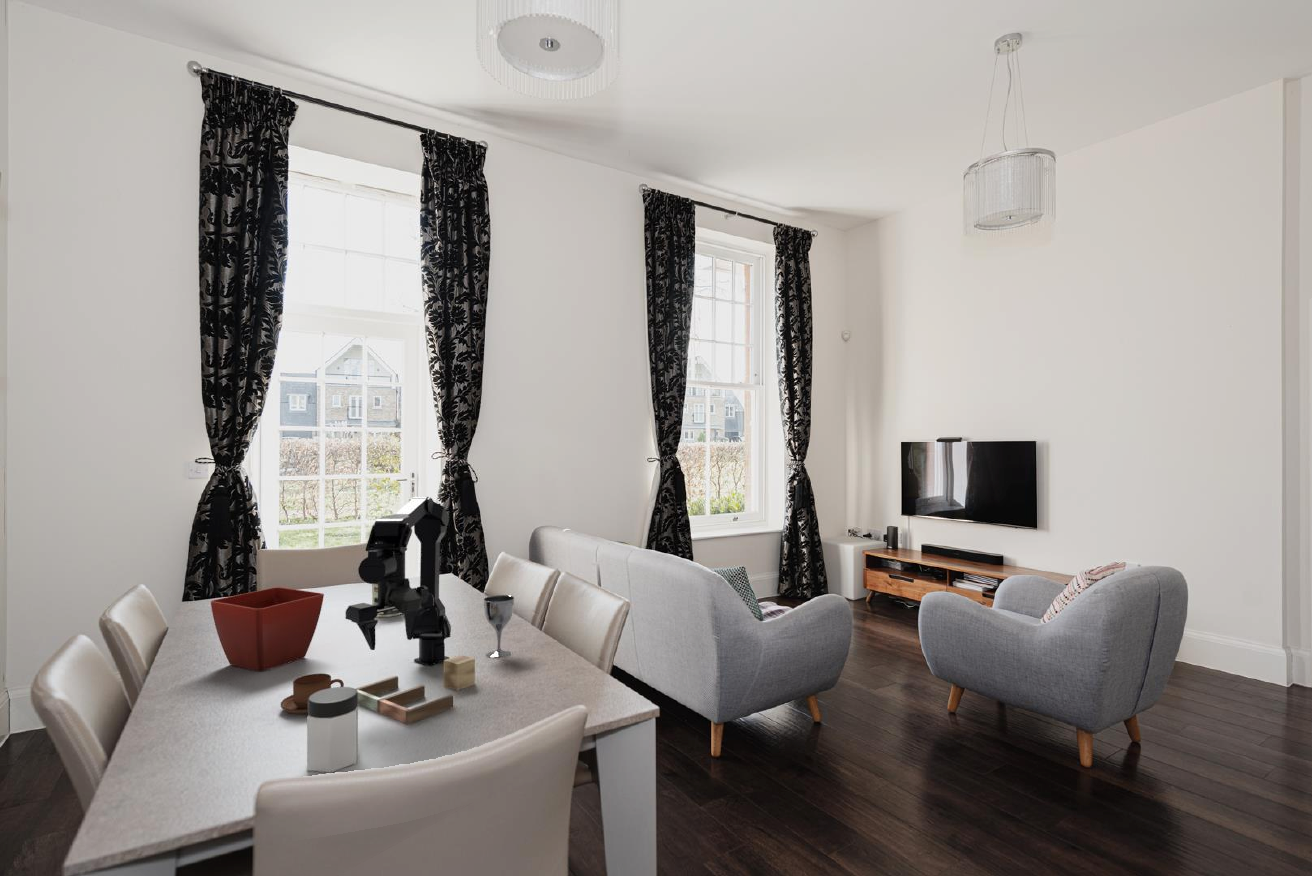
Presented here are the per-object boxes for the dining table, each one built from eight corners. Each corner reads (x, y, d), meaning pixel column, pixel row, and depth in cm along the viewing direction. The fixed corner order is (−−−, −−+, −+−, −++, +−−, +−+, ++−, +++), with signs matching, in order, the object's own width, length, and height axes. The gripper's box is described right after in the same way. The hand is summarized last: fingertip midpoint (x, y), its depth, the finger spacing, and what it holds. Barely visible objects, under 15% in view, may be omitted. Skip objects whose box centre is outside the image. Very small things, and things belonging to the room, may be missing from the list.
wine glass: (519, 651, 186) (519, 596, 186) (503, 660, 179) (503, 602, 179) (494, 648, 189) (494, 594, 189) (477, 656, 181) (477, 600, 181)
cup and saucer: (327, 693, 156) (327, 666, 156) (353, 706, 148) (353, 677, 148) (271, 709, 147) (271, 680, 147) (295, 724, 139) (295, 693, 139)
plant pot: (326, 656, 182) (326, 592, 182) (258, 678, 165) (258, 608, 165) (277, 646, 190) (277, 586, 190) (208, 667, 173) (208, 601, 173)
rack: (351, 701, 150) (351, 690, 150) (395, 686, 159) (395, 675, 159) (408, 724, 138) (408, 712, 138) (453, 707, 147) (453, 695, 147)
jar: (347, 746, 128) (347, 682, 128) (368, 759, 123) (368, 693, 123) (297, 763, 122) (297, 696, 122) (317, 778, 116) (317, 707, 116)
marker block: (443, 685, 160) (443, 660, 160) (461, 679, 164) (461, 654, 164) (457, 690, 157) (457, 664, 157) (474, 684, 161) (474, 658, 161)
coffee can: (409, 609, 232) (409, 568, 232) (397, 617, 222) (397, 573, 222) (379, 609, 232) (379, 567, 232) (366, 617, 222) (366, 573, 222)
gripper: (374, 586, 140) (374, 662, 140) (449, 571, 155) (449, 640, 155) (344, 579, 146) (344, 652, 146) (418, 566, 162) (418, 632, 162)
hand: (391, 644), depth 152 cm, fingers open, 9 cm apart
